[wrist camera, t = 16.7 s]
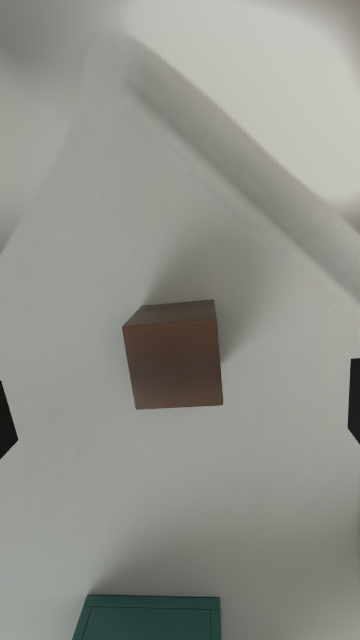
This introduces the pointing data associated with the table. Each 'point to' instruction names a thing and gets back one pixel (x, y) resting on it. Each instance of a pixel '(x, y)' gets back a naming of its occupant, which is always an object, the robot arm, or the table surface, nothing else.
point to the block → (174, 355)
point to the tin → (149, 618)
